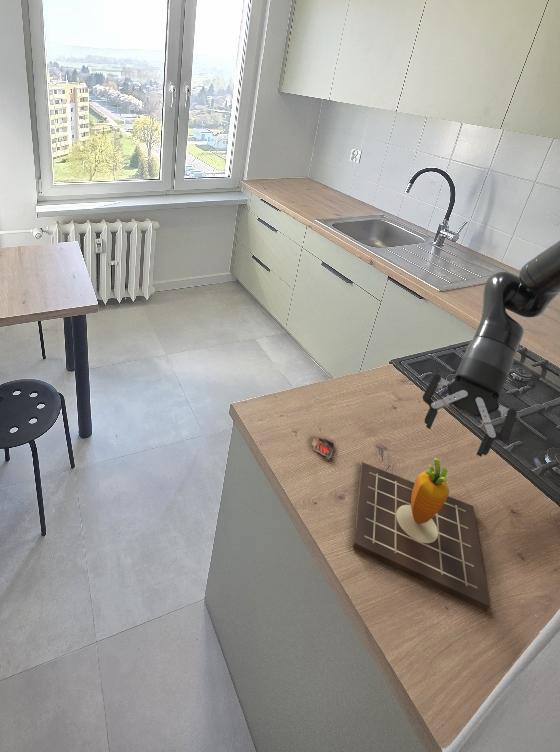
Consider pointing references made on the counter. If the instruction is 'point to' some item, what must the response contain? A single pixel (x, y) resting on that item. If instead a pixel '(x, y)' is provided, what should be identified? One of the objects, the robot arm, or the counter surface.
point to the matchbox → (323, 446)
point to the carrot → (429, 493)
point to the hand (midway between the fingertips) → (452, 441)
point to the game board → (420, 537)
